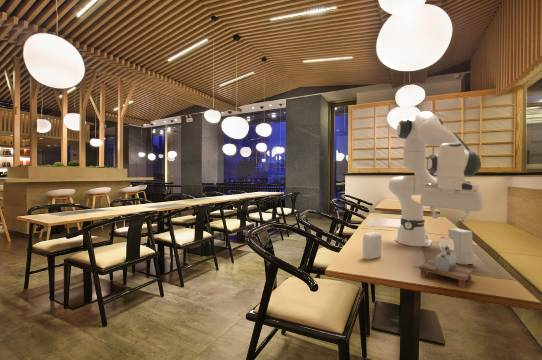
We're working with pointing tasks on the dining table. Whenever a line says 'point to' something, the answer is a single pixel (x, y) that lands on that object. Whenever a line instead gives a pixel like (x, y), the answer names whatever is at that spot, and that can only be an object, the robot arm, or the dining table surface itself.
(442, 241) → the wineglass
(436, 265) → the plate
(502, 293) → the dining table surface
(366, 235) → the photo printer
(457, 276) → the stand
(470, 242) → the skincare box
